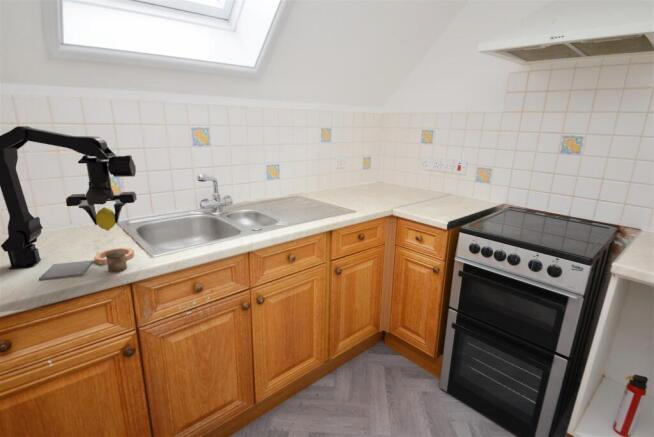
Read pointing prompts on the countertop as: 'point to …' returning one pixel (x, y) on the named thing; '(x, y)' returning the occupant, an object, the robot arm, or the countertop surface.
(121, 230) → the countertop surface
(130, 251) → the c ring
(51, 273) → the slate coaster
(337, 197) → the countertop surface
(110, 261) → the walnut salt pot
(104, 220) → the lemon
